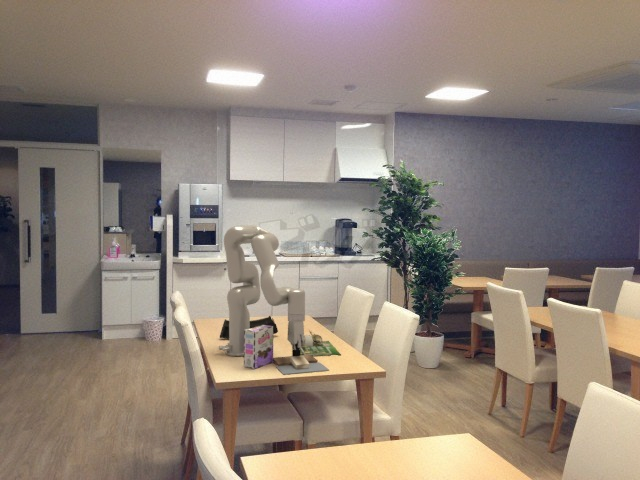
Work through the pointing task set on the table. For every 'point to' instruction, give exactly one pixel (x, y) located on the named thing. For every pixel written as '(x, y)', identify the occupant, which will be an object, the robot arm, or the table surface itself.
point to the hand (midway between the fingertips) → (296, 358)
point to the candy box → (258, 346)
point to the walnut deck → (286, 361)
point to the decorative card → (317, 346)
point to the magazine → (253, 324)
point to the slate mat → (312, 368)
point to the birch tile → (299, 362)
